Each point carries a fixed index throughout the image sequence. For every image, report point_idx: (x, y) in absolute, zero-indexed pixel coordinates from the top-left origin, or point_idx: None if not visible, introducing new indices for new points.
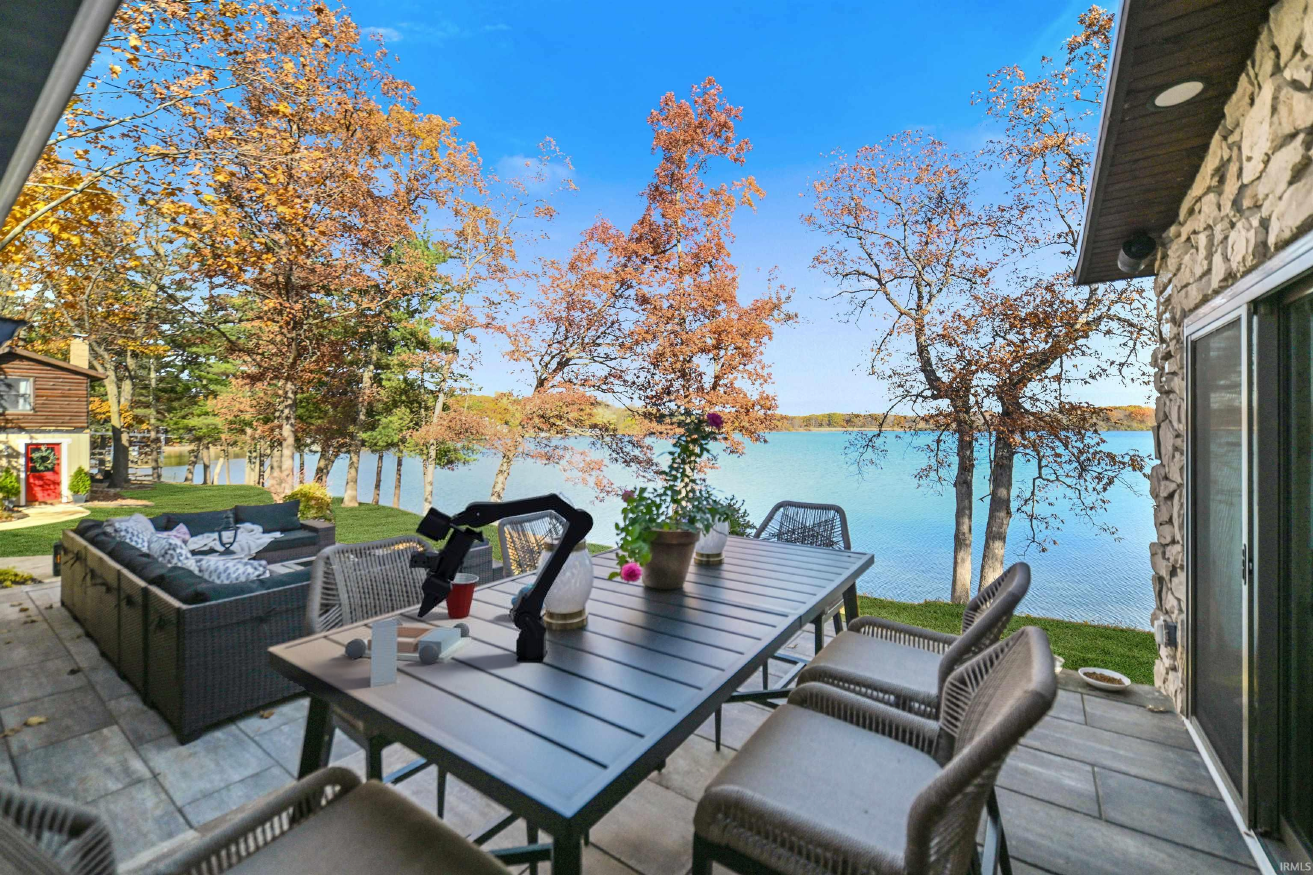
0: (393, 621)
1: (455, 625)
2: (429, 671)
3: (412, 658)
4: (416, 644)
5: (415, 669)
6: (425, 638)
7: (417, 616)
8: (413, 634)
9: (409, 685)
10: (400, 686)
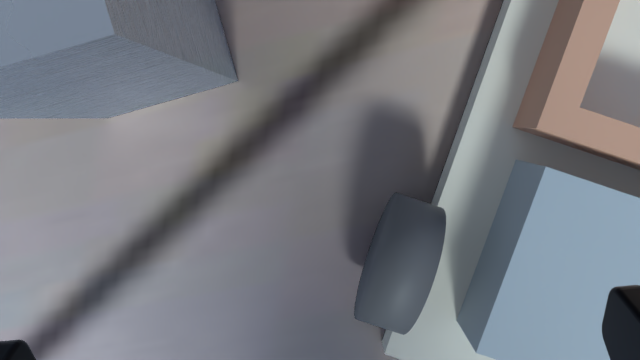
0: (16, 15)
1: None
2: (257, 274)
3: (458, 134)
4: (570, 142)
5: (300, 185)
6: (578, 215)
7: (3, 342)
8: None
9: (66, 201)
10: (58, 154)
